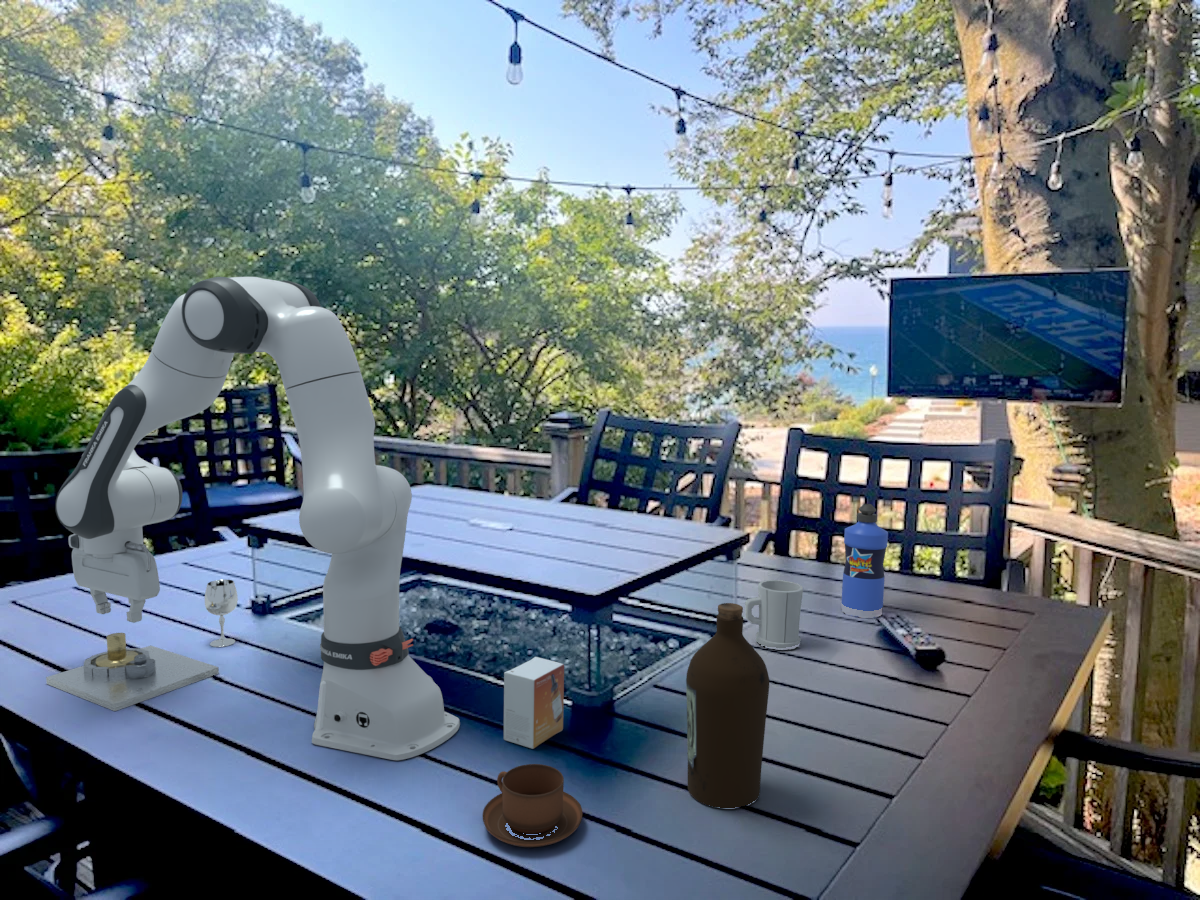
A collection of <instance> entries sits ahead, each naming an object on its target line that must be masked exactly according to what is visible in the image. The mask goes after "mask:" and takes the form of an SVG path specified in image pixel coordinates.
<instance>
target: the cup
mask: <svg viewBox="0 0 1200 900" xmlns="http://www.w3.org/2000/svg"><path fill="white" fill-rule="evenodd" d="M803 592H804V587H803V586H802V584H799V583H797V582H794V581H789V580H781V579H780V580H779V579H771V580H770V579H769V580H761V581H760V582H759V583H758V584H757V593H758V595H757V597H750V598H747V599H746V601H745V602H744V608H745V609H744V610H745V612H744V613H745V619H746V620H747V621H748V622H749V623H751V624H752V625H758V632H757V633H756V635H755V642H756V643H757V642H758V643H759V644H761V645H764V646H767V647H776V648H786V647H792V646H795V645H798V644H799V643H800V641H801V640H802V639H801V636H800V635H799V633H800V620H801V611H802V610H801V609H802V602H803V595H804V593H803ZM756 606H758V617H755V616H754V615H753V614H752V613H753V612H752V611H753V610H752V609H754V607H756ZM758 643H757V644H758ZM759 644H758V645H759ZM761 645H760V646H761Z"/></svg>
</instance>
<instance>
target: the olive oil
mask: <svg viewBox="0 0 1200 900" xmlns="http://www.w3.org/2000/svg"><path fill="white" fill-rule="evenodd" d="M743 608H744V607H743V606H742V605H740V604H738V603H732V602H722V603H720V604H718V605H717V611H718V612H717V613H718V614H717V615H716V632H715V634H714V635H713V636H712V637H711V638H709V640H708V641H706V642H705V643H704V644H703V645H702V646H701V647H700V648H699V649H698V650H697V651H695V653H694V654H693V655H692V657H691V659H690V662H689V664H688V667H687V671H686V679H685V685H686V686H685V688H686V692H685V693H686V728H687V729H686V731H687V732H686V734H687V735H686V738H687V740H686V741H687V742H686V743H687V744H686V745H687V790H688V793H689V794H690V796H691V797H692V798H694V800H696V801H697V800H698V802H700V804H703V805H705V804H706V805H705V806H707V805H708V807H710V806H713V807H712V808H714V807H720V808H735V807H741V806H745V805H748V804H750V803H752V802H753V801H755V800H756V799H757V798H758V796H759V797H760V794H759V793H761V779H762V766H763V754H764V741H765V731H766V722H767V711H768V703H769V701H768V700H769V693H770V692H769V691H770V677H769V672H768V669H767V665H766V662H765V661H764V659H763V658H762V656H761V655H760V654H759V653H758V652H757V650H756V649H755V648H754V647H753V646H752V645H751V643H750V642H749V641H748V640H747V639H746V638H745V637H744V635H743V629H744V616H743V612H744V611H743V610H744V609H743ZM758 799H759V798H758ZM758 799H757V800H758ZM709 805H710V806H709Z"/></svg>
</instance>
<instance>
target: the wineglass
mask: <svg viewBox="0 0 1200 900" xmlns="http://www.w3.org/2000/svg"><path fill="white" fill-rule="evenodd" d="M205 588H206V589H205V594H204V607H205V609H206V611H207V612H208V613H209V614H211V615H215V616H219V619H218V622H219V626H220V638H218V639H216V640H215V639H214V640H212V641H211V642H210V643H209V646H211V647H214V648H223V647H228V646H232V645H234V644H235V643H236V640H235V639H233V638H226V637H225V635H224V634H225V633H224V625H225V619H226V618H225V617H224V616H226V615H229V614H230V613H231V612H232V613H233V611H234V610H235V609H236V607H237V605H238V600H239V599H238V592H237V587H236V584H235V581H234V580H232V579H216V580H213V581H208V582H207V584H206V587H205Z"/></svg>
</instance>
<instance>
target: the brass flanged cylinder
mask: <svg viewBox="0 0 1200 900" xmlns="http://www.w3.org/2000/svg"><path fill="white" fill-rule="evenodd" d="M126 638H127V637H126V633H124V632H114V633H110V634H108V635H107V636H106V647H107V649H106V651H107V653H108V654H105V655H102V656H100V657H98V658H97V659H96V666H97V667H113V666H119V665H125V664H127V663H128V662H130V661H133V660H134V657H135V656H137V655H138V653H137V652H134V651H126V648H127V640H126Z"/></svg>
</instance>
